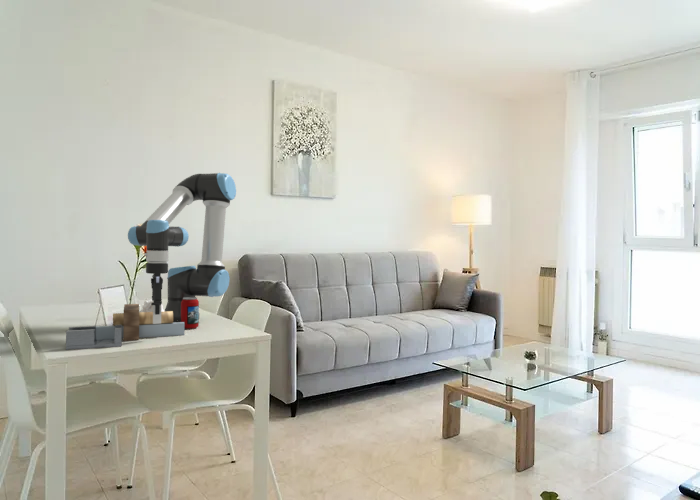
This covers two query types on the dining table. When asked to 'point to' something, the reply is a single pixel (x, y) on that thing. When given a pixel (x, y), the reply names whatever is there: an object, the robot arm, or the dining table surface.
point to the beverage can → (190, 312)
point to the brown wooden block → (131, 322)
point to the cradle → (90, 338)
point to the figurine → (149, 306)
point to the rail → (144, 330)
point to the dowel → (144, 318)
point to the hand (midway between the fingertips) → (156, 321)
